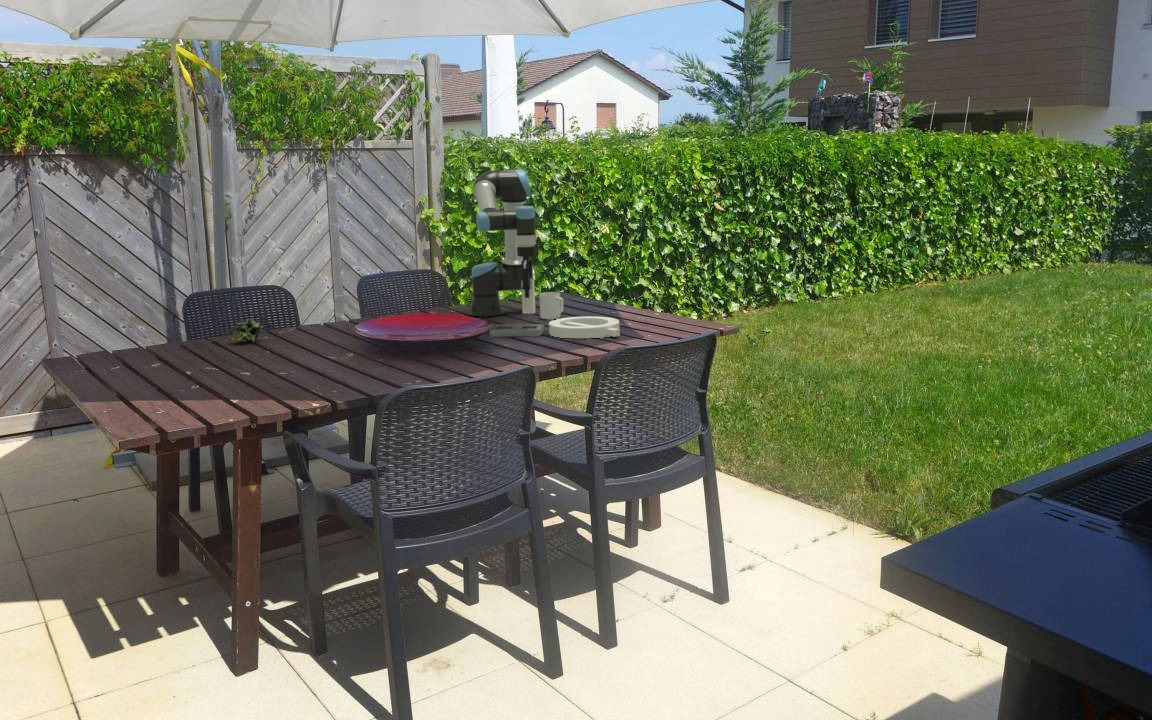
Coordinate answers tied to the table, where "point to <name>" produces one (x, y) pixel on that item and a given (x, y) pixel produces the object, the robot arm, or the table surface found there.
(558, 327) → the white circle with bar
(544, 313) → the mug
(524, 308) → the white tall block
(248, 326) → the green leafy plant
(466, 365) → the table surface
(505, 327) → the panel
